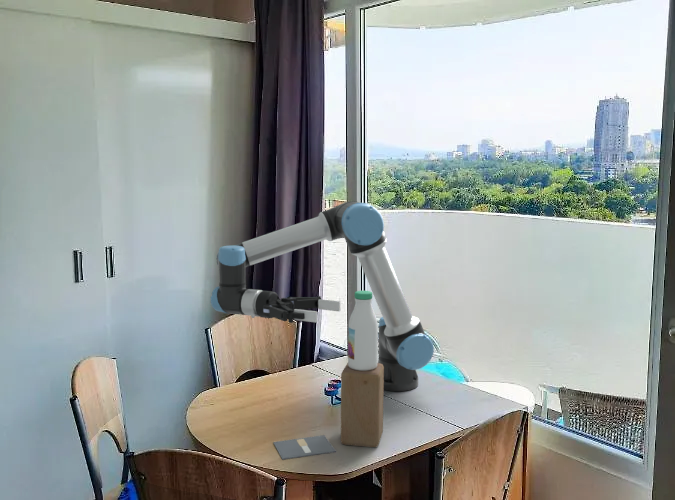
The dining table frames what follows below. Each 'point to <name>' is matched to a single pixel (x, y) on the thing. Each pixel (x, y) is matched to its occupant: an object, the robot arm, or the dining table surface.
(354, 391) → the wooden block
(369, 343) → the milk bottle
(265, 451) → the dining table surface
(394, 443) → the dining table surface
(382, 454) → the dining table surface
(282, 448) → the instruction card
